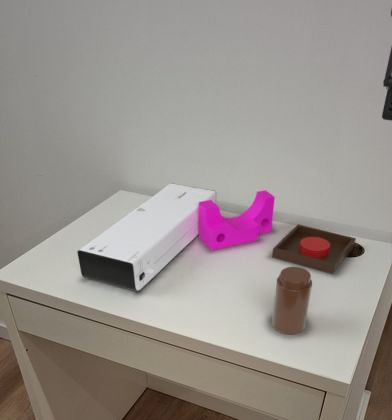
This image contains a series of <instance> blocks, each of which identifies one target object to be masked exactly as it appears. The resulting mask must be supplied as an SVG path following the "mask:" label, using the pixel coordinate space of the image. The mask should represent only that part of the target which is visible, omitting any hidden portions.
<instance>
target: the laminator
mask: <svg viewBox="0 0 392 420" xmlns="http://www.w3.org/2000/svg"><path fill="white" fill-rule="evenodd" d="M208 200H212V201H213V202H214V203H215V204H216V205H217V191H216V190H212V189H207V188H202V187H196V186H190V185H185V184H179V183H173V182H171V183H169V184H168V185H166V186H165V187H164V188H162V189H161V190H159V191H158V192H157V193H155V194H154V195H153V196H151V197H150V198H148V199H147V200H146V201H144V202H143V203H142V204H140V205H139V206H138V207H136V208H135V209H133V210H132V211H130V212H129V213H127V214H126V215H125V216H123V217H122V218H121V219H119V220H118V221H116V222H115V223H114V224H113V225H111V226H110V227H108V228H107V229H105V230H104V231H103V232H101V233H100V234H99V235H97V236H96V237H94V238H93V239H92V240H90V241H89V242H88V243H86V244H85V245H83V246H82V247H81V248H79V249H78V250H77V251H76V252H77V258H78V263H79V269H80V273H81V276H82V278H84V279H91V280H94V281H98V282H101V283H105V284H108V285H112V286H116V287H120V288H124V289H127V290H131V291H133V292H134V291H135V292H136V293H139V292H141V291H142V290H143V289H144V288H145V287H146V286H147V285H148V284H150V282H152V280H154V279H155V278H156V277H157V275H158V274H160V272H162V271H163V270H164V269H165V268H166V267H168V265H169V264H170V263H171V262H172V261H173V260H174V259H175V258H176V257H177V256H179V254H181V252H182V251H183V250H185V249H186V247H188V245H190V244H191V243H192V242H193V241H194V240H195V239H196V238H197V237H199V202H202V201H208Z"/></svg>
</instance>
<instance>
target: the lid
mask: <svg viewBox="0 0 392 420" xmlns="http://www.w3.org/2000/svg"><path fill="white" fill-rule="evenodd" d="M329 249H330V243H329V242H328V241H327V240H325V239H323V238H319V237H306V238H304V239H302V240H301V241H300V246H299V251H300V252H301V253H302V254H303V255H305V256H308V257H313V258H320V257H324V256H326V255H328V254H329Z"/></svg>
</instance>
